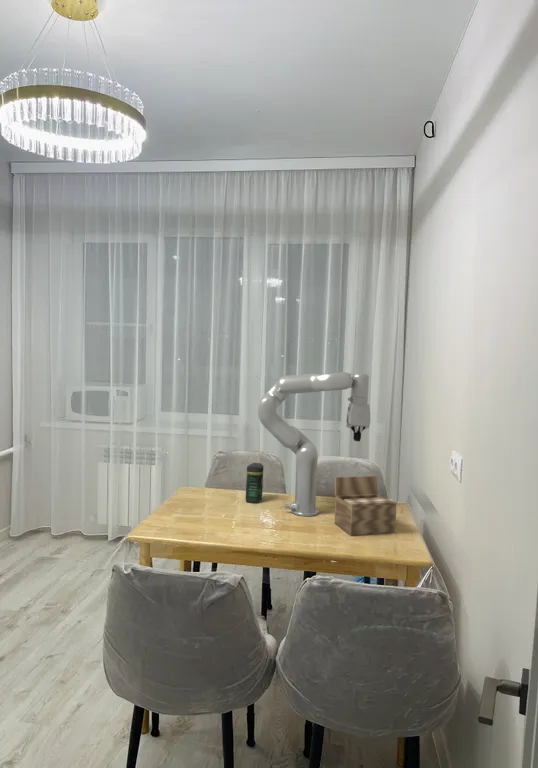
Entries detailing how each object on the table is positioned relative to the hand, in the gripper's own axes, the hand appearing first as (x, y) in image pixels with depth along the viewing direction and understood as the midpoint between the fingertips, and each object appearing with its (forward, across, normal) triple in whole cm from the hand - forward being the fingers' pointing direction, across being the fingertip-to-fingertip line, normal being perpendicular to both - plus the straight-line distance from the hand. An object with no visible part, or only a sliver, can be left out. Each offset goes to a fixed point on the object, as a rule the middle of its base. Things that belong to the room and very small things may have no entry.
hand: (356, 440), depth 237 cm
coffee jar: (+35, -40, +28) cm, 60 cm away
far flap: (+18, -3, -10) cm, 21 cm away
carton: (+34, -3, -19) cm, 39 cm away
